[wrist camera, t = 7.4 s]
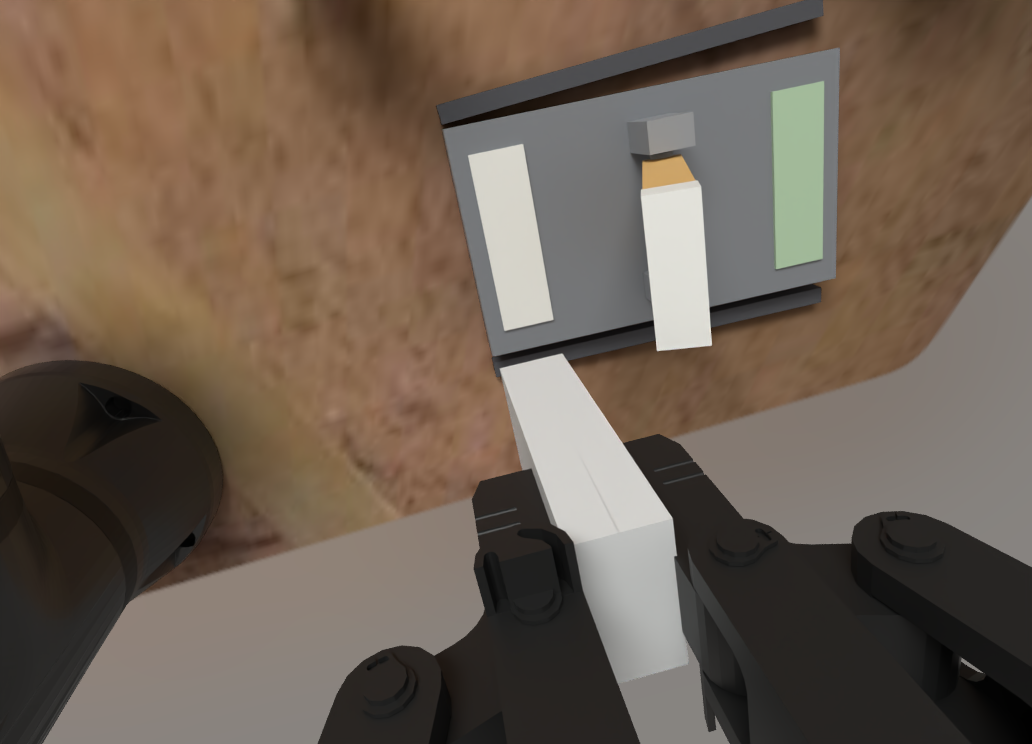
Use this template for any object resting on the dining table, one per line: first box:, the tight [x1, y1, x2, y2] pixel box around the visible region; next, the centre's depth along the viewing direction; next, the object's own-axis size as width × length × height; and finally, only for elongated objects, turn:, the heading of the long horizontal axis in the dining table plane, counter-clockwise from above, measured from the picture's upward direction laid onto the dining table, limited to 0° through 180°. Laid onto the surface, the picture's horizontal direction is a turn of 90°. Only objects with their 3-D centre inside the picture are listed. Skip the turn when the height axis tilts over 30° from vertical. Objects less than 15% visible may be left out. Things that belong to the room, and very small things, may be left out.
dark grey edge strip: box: [492, 284, 821, 377], centre depth 40 cm, size 22×1×1 cm, turn 101°
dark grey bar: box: [436, 0, 823, 125], centre depth 34 cm, size 22×1×1 cm, turn 105°
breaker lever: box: [641, 151, 712, 351], centre depth 29 cm, size 2×6×13 cm, turn 10°
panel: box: [442, 48, 840, 357], centre depth 35 cm, size 22×13×6 cm, turn 101°
